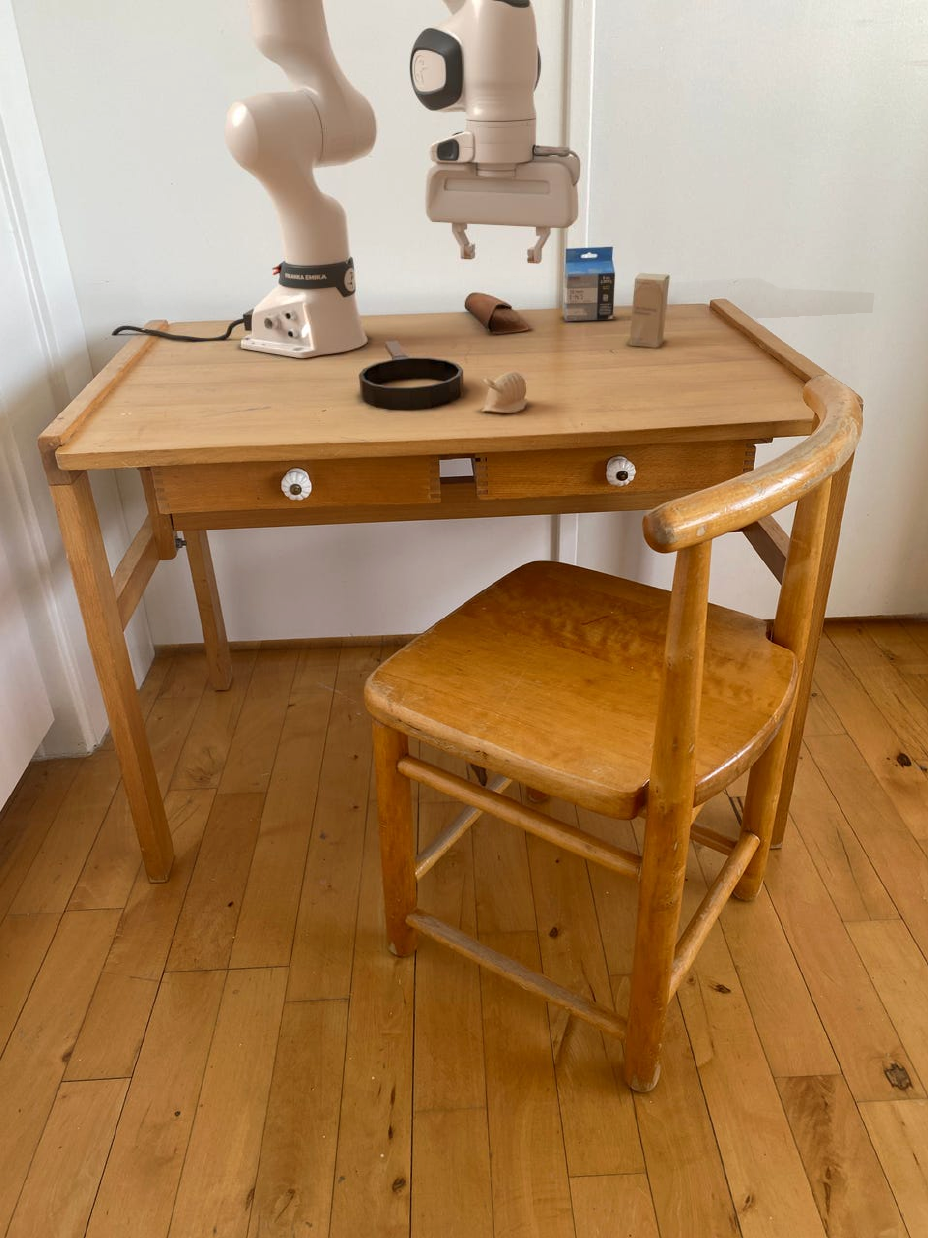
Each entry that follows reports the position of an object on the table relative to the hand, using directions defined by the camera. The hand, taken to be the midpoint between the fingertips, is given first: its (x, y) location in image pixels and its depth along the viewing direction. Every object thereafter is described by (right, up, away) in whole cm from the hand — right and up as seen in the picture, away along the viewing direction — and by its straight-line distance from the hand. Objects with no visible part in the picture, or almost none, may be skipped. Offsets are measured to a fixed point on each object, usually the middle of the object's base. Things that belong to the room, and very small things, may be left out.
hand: (500, 260), depth 123 cm
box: (+26, -1, +33) cm, 42 cm away
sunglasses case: (+1, +8, +50) cm, 50 cm away
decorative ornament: (+1, -18, +8) cm, 20 cm away
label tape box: (+18, +8, +49) cm, 53 cm away
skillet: (-14, -11, +19) cm, 26 cm away
